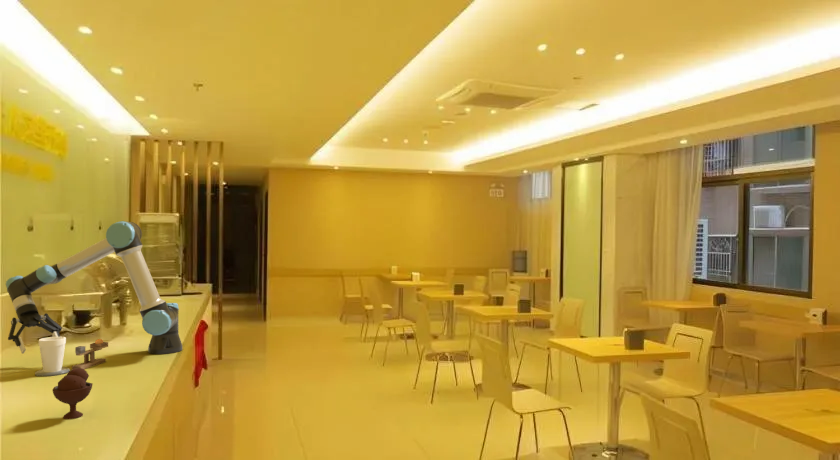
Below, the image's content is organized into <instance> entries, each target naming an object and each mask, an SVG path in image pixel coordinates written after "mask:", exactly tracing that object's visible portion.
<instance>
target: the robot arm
mask: <svg viewBox="0 0 840 460" xmlns="http://www.w3.org/2000/svg"><path fill="white" fill-rule="evenodd" d="M142 238H143V232H142V229H141V227H140V226H139V224H137V223H136V222H132V221H124V220H122V221H117V222H114V223H112V224H111V225H110V226H108V228H107V229H106V232H105V238H103V239H101V240H99V241H97V242H96V243H94V244H91V245H89V246H88V247H86V248H84V249H82V250H80V251H78V252H76V253H75V254H73V255H71V256H69V257H66V258H64V259H63V260H61V261H58V262H57V263H54V264H53V265H52V266H50V265H48V264H45V265H43V266H41V267H40V266H39V267H38V268H37V269H35V270H34V271H32V272H31V273H29V274H27V275H26V276H22V275H15V276H11V277H9V278H8V279H7V280H6V281H5V287H6V290H7V294H8V295H9V297H10V300H11V303H12V306H13V308H14V310H15V313H16V316H17V318H16V317H12V319H11V321H10V324H11V326H10V331H9V334H8V338H7V340H8V341H11V340H12V342H14V343H15V346H16V347H18V348H19V350H20V352H21V354H25V352H26V350H27V349H26V345H25V342H24V341H23V338H22V336H20V335H21V334H22V332H24V329H25V328H31V327H36V326H37V327H39V328H41V329H44V330H46V331H48V333H51V337H61V335H60V332H61V331H62V329H63V328H62V327H61V325H59V324H58V323H57V322H56V321H55V320H54V319H52V318H51V317H50V316H49V314H48V313H47V312H46V313H44V314H43V315H42V314H39V310H38V307H37V305H36V303H35V300H34V298H33V296H32V293H35V292H36V291H38V290H39V289H41V288H42V287H45V286H48V285H54V284H58V283H60V282H61V281H63V280H64V279H66V278H67V277H70V276H71V275H73V274H75V273H77V272H79V271H81V270H83V269H84V268H86V267H88V266H90V265H92V264H94V263H97V262H98V261H100V260H101V259H102V260H103V259H104V258H105V257H108V256H110V255H112V254H113V253H114V254H115V255H116V256H118V257H120V258H121V260H122V263H123V265H124V267H125V270H126V273H127V274H128V277H129V279H130V282H131V284H132V287H133V290H134V291H135V294H136V297H137V299H138V302H139V304H140V309H139V313H140V314H139V315H140V316H141V318H142V320H141V321H142V322H141V323H142V324H141V325H142V328H143V330H144V331H145V332H146V333H147V334H149V335H150V336H151V337H150V338H151V339H150V340H149V341H150V342H149V344H148V347H147V348H148V349H147V350H148V351H147V352H148V353H149V354H152V355H153V354H154V355H162V354H165V355H166V354H172V353H177V352H181V351H183V343H182V340H181V337H180V334H179V310H180V308H179V304H178V303H176V302H167V301H166V300H164V299H162V298H161V296H160V293H159V292H158V289H157V287H156V284H155V282H154V278H153V277H152V275H151V272H150V270H149V267H148V264H147V262H146V260H145V256H144V255H143V253H142V249H143V246H144V245H143V243H142V241H141V240H142ZM18 323H20V324H21V326H20V328H19V329H18V331H17V333H16V334H15V330H16V326H17V324H18Z"/></svg>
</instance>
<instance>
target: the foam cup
mask: <svg viewBox="0 0 840 460" xmlns="http://www.w3.org/2000/svg"><path fill="white" fill-rule="evenodd" d="M66 344H67V337H65V336H60V337H52V336H50V337H42V338H39V339H38V346H39V352H40V358H41V366H42V370H43V371H44V372H57V371H60V370H62V367H63V363H64V355H65V348H66Z"/></svg>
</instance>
